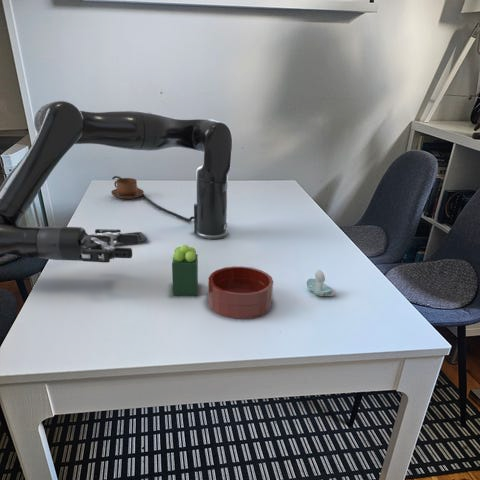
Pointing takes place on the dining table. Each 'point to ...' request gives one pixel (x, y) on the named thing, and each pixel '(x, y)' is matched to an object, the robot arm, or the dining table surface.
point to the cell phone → (140, 237)
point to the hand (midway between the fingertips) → (135, 245)
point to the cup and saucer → (126, 189)
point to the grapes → (185, 271)
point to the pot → (240, 292)
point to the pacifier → (319, 285)
